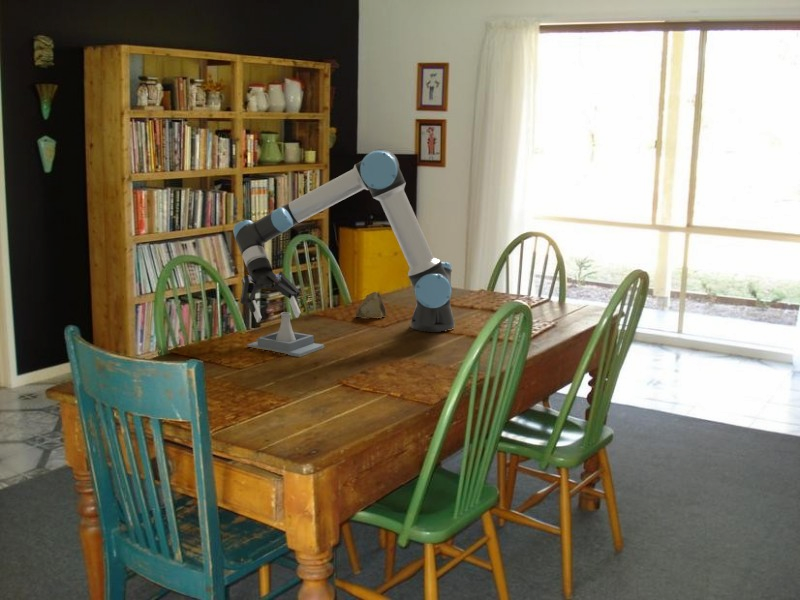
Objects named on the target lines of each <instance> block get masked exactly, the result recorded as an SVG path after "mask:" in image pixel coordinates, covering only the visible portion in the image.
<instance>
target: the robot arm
mask: <svg viewBox="0 0 800 600" xmlns="http://www.w3.org/2000/svg"><path fill="white" fill-rule="evenodd" d="M406 183H407V182H406V179H405V178H404V176H403V173H402V171H401V169H400V163H399V160H398V157H397V156H396V155H395V154H394V153H393V152H392V151H390V150H388V149H384V148H383V149H382V148H381V149H375V150H373V151H370V152H369V153H367V154H366V155H365V156H364V157H363V159H362V160H361V161H359V162H357V163H355V164H354V166H353V168H352V169H350V170H349V171H347V172H346V171H345V173H343V174H341V175H339V176H338V177H336V178H335V177H334V178H333V179H331V180H330V181H327V182H326V183H324V184H322V185H320V186H318V187H316V188H315V189H312V190H310V191H308V192H307V193H305V194H303V195H301V196H300V197H298V198H295V199H293V200H292V201H290V202H288V203H287V204H284V205H282V206H281V207H278V208H276V209H274V210H272V211H271V212H270V213H268V214H266V215H264V216H263V217H261V218H260V219H258V220H256V221H252V220H250V219H244V220H243V221H241V220H240V221H239V222H237V223H236V224H235V225H234V226H233V229H232V231H233V236H234V240H235V242H236V244H237V247H238V249H239V251H240V254H241V256H242V259H243V261H244V264H245V267H246V270H247V272H248V274H244V276H243V278H242V280H241V281H242V289H241V297H240V300H239V301H240V304H243V305H244V304H245V306H246V307H248V309H249V311H250V313H253V317H254V318H255V321H256V323H260V322H261V319H262V315H261V312H260V309H259V307H258V305H257V301H256V299H254V298H255V296H256V293H257V291H258V289H261V290H262V289H274V290H276V291H278V292H279V293H280V294H282V295H284V296H285V297H287V298H288V299H289V301H288V302H289V304H290V307H291V309H292V312H293V314H294V317H295V319H296V318H299V317H300V315H301V314H302V313H301V310H300V308H299V306H300V302H299V300H298V298H299V297H300V294H301V291H300V290H299V289H298V288H297V287H296V286H295V285H294V284H293V282H292V281H290V280H289V278H288V277H286V276H285V274H284V272H283V271H279V273H275V272H274V270H273V267H272V264H271V262H270V260H269V256H268V255H267V252H266V250H265V247H264V244H265V243H267V242H269V241H270V240H272V239H274V238H276V237H278V236H279V235H282V234H283V233H285V232H287V231H289V229H291V228H293V227H294V226H296V225H298V224H299V223H301V222H303V221H305V220H307V219H309V218H311V217H312V216H315V215H317V214H319V213H320V212H322V211H325V210H326V209H329V208H330V207H332V206H334V205H336V204H338V203H339V202H341V201H343V200H346V199H347V198H349V197H351V196H353V195H355V194H357V193H359V192H362V191H363V190H366V191H369V192H370V194H371V196H372V199H375V200H376V201H378V202H379V203H380V205H381V207H382V209H383V212H384V213H385V217H386V218H387V220H388V222H389V225H390V227H391V229H392V232H393V233H394V236H395V239H396V240H397V242H398V244H399V248H400V250H401V251H402V253H403V256H404V258H405V260H406V263H407V264H408V267H409V269H408V272H407V276H408V278H409V280H410V282H411V283H410V284H411V285H412V287H413V289H414V295H415V298H416V305H415V308H414V311H413V313H412V317H411V321H410V328H411V329H413V330H415V331H420V332H425V331H427V333H428V332H429V333H442V332H441V331H445V330H448V329H452V328H454V327H455V328H456V326H455V324H456V322H455V321H456V320H455V318H454V315H453V311H452V307H451V296H452V291H453V290H452V289H453V288H452V271H453V269H452V264H451V263H450V262H447V261H441V259H439V258H436V257H435V256H434V253H432V250H431V248H430V246H429V243H428V240H427V239H426V236H425V234H424V233H423V232H424V231H423V230H422V228H421V225H420V224H419V221H418V219H417V217H416V214H415V212H414V209H413V207H412V205H411V204H410V201H409V199H408V196H407V194H406V192H405V187H406ZM250 283H253V284H254V286H253V289H252V290H251V293H250V295H249V296H248V290H249V285H250ZM253 299H254V300H253ZM455 328H454V329H455ZM445 332H446V331H445Z"/></svg>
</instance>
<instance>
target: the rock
mask: <svg viewBox="0 0 800 600" xmlns="http://www.w3.org/2000/svg"><path fill="white" fill-rule="evenodd" d="M383 316H387V312H386V307H385V305H384V302H383V298H382V295H380V292H376V291H373V292H370V293H369V294H367V295H366V296H365V298H364V299H363V300H362V301H361V303H360V304H359V305H358V306H357V310H356V313H355V318H356V317H383Z"/></svg>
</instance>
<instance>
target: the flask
mask: <svg viewBox="0 0 800 600" xmlns="http://www.w3.org/2000/svg"><path fill="white" fill-rule="evenodd" d="M291 313H292V312H288V311H286V312H284V311H283V312H280V316H281V321H280V326H279V329H278V331H279V332H278V331H277V332H278V335H277V338H276V340H278V341H284V342H292V341H295V340H296V338H295V336H294V333H293V332H294V331H293V327H292V324H291V319H290V318H291V316H292V314H291Z"/></svg>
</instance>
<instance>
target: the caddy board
mask: <svg viewBox="0 0 800 600" xmlns="http://www.w3.org/2000/svg"><path fill="white" fill-rule="evenodd" d="M278 332H279V330H278V331H275V332H273V333H269V334H267V335H263V336H260V337H259V336H258V337H257V341H254V342H251V343H250V342H249V343H247V344H246V345H247V346H248V347H255V348H261V349H266V350H272V351H276V352H281V353H286V354H288V355H287V356H292V357H296V358H301V357H304V356H305V355H306V356H307V355H309V354H312V353H314V352H317V351H320V350H323V349H325V344H323V343H322V344H321V343H315V336H314V335H313V334H305V333H301V332H296V331H295V332H294V331H293V333H294V336H295V338H296V340H295V341H292V342H284V341H278V340H276V338H277V335H278ZM286 354H285V355H286Z"/></svg>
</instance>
